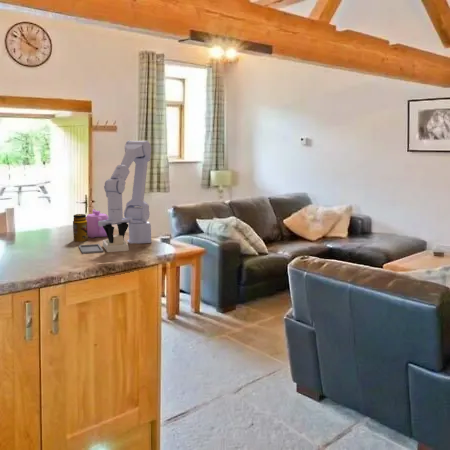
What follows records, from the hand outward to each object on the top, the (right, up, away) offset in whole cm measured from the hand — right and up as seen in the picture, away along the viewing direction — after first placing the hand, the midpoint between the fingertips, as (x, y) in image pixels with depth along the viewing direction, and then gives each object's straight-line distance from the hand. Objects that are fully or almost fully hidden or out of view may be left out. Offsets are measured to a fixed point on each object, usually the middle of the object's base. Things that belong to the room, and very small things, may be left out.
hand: (116, 242), depth 209 cm
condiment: (-20, -1, +18) cm, 27 cm away
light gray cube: (-2, -2, +5) cm, 6 cm away
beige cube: (0, -1, 0) cm, 1 cm away
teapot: (-16, +2, +32) cm, 36 cm away
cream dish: (-1, -3, +3) cm, 4 cm away
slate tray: (-10, -4, 0) cm, 11 cm away
